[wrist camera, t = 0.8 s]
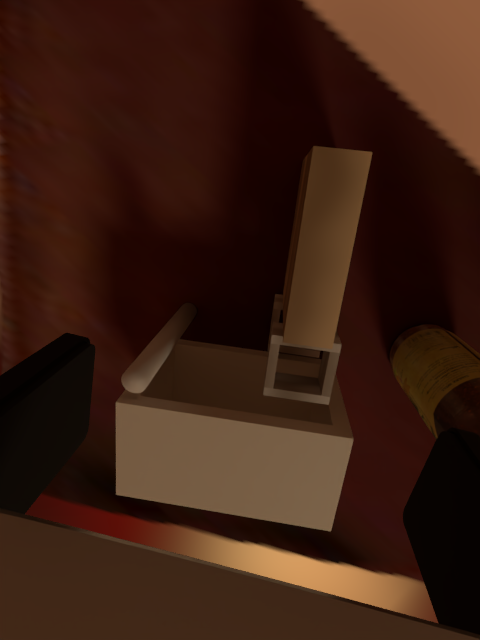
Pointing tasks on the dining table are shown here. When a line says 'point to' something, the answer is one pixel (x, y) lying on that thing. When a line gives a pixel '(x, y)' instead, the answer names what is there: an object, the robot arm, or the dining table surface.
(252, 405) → the white box
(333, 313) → the door
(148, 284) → the dining table surface
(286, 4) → the dining table surface
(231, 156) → the dining table surface
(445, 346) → the sauce bottle
